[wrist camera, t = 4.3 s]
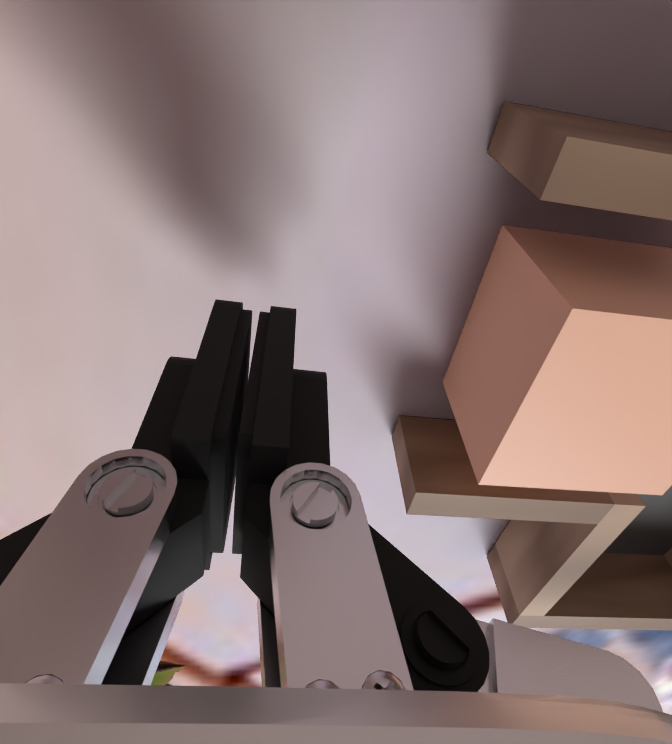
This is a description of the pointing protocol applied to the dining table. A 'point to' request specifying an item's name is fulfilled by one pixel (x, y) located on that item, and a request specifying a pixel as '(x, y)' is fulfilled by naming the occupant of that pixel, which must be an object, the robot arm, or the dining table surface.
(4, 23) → the dining table surface
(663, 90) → the dining table surface
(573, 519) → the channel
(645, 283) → the block
